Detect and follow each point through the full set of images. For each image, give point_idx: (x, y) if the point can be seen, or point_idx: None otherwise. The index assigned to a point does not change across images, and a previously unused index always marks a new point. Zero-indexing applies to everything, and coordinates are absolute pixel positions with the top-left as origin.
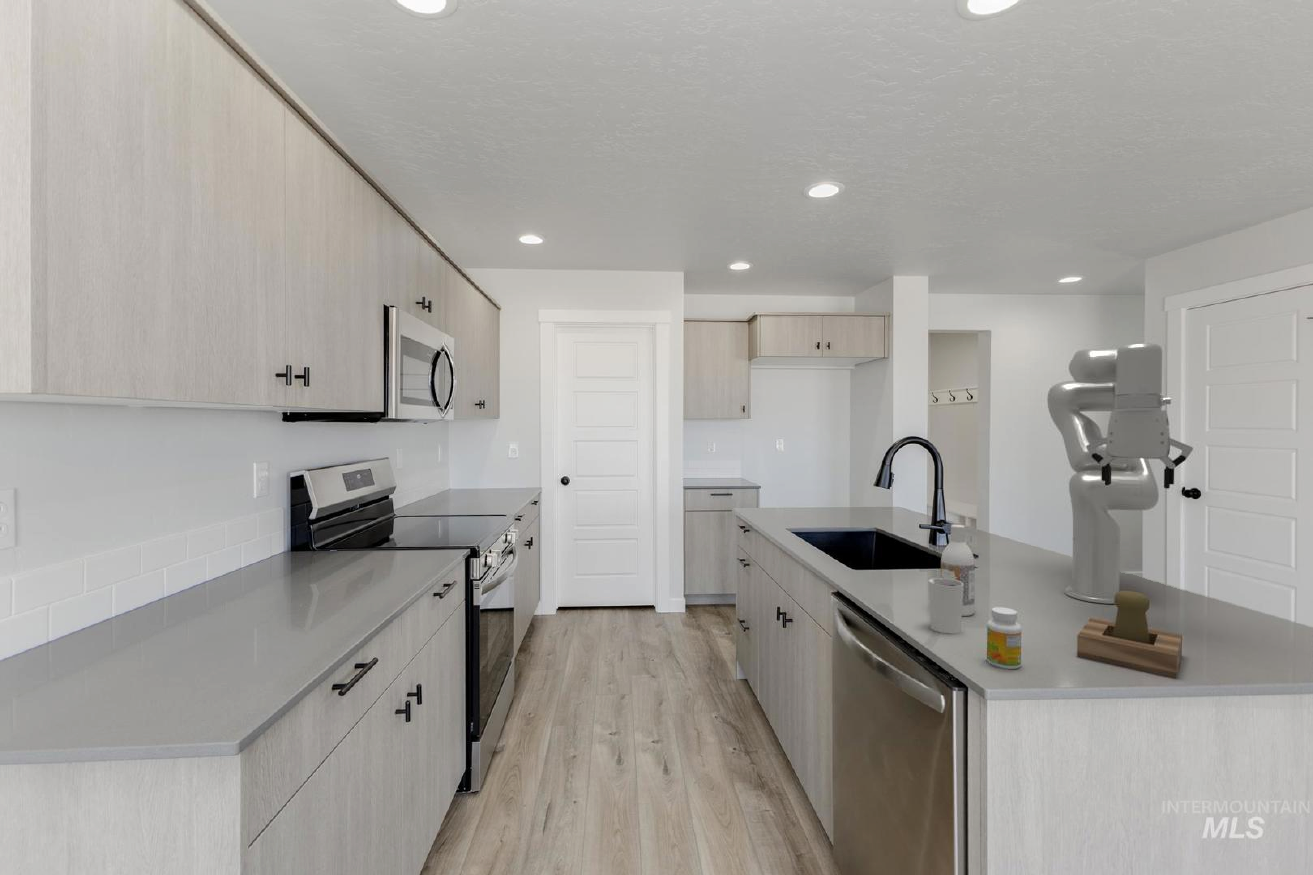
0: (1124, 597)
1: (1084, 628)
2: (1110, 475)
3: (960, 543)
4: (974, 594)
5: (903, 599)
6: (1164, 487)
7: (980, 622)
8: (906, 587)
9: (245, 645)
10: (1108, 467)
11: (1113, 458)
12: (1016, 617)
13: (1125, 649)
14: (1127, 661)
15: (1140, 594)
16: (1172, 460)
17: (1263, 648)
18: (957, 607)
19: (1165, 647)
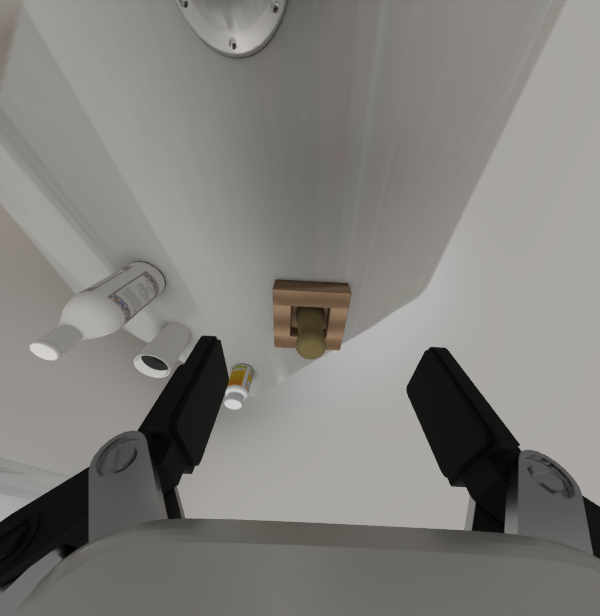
0: (305, 358)
1: (275, 327)
2: (208, 390)
3: (84, 339)
4: (149, 285)
5: (77, 267)
6: (407, 390)
7: (184, 297)
8: (16, 200)
9: (42, 482)
10: (194, 464)
11: (161, 516)
12: (242, 402)
13: None
14: None
15: (318, 353)
16: (584, 528)
17: (437, 196)
18: (179, 355)
19: (334, 338)
